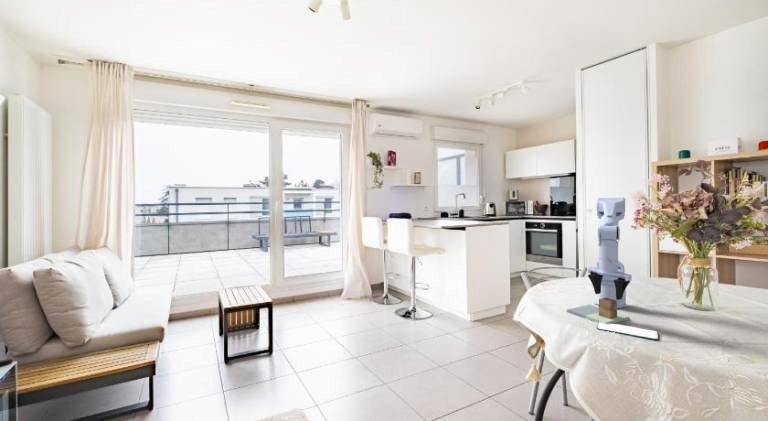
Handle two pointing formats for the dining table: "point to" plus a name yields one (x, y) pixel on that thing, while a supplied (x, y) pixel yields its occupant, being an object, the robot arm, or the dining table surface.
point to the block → (608, 308)
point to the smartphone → (629, 331)
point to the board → (595, 314)
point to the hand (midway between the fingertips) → (608, 296)
